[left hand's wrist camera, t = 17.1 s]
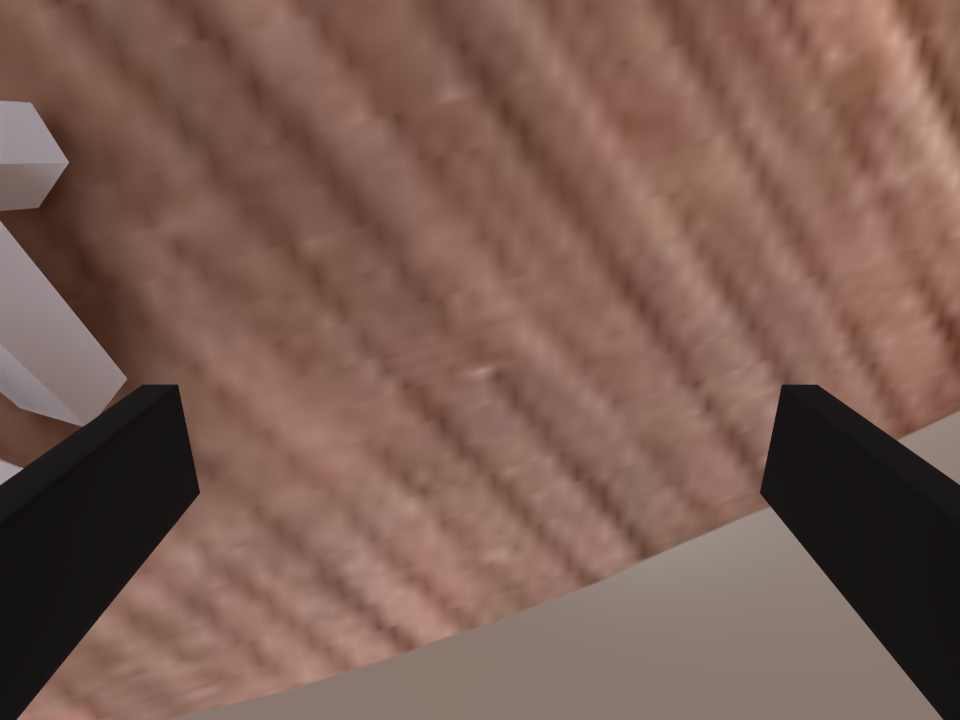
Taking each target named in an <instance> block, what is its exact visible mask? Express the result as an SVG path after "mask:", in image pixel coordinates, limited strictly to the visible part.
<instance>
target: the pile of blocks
mask: <svg viewBox="0 0 960 720" xmlns="http://www.w3.org/2000/svg"><path fill="white" fill-rule="evenodd" d="M68 163H69V162H68V160H67V159H66V157H65V155H64V154H63V152H62V151H61V149H60V147H59V146H58V144H57V143H56V141H55V140H54V138H53V136H52V135H51V133H50V132H49V130H48V129H47V127H46V125H45V124H44V122H43V121H42V119H41V118H40V116H39V114H38V113H37V111H36V110H35V108H34V107H33V105H32V103H28V102H13V101H0V211H6V210H18V209H30V208H39V206H40V205H41V203H42V202H43V200H44V199H45V197H46V196H47V194H48V193H49V192H50V190H51V189H52V187H53V186H54V184H55V183H56V181H57V180H58V178H59V177H60V175H61V174H62V172H63V171H64V169H65V168H66V166H67V165H68ZM126 380H127V378H126V376H125V375H124V374H123V373H122V371H121V370H120V369H119V368H118V366H117V365H116V364H115V363H114V362H113V360H112V359H111V358H110V357H109V355H108V354H107V353H106V352H105V350H104V349H103V348H102V347H101V345H100V344H99V343H98V342H97V340H96V339H95V338H94V337H93V335H92V334H91V333H90V332H89V330H88V329H87V328H86V327H85V326H84V324H83V323H82V322H81V321H80V319H79V318H78V317H77V316H76V314H75V313H74V312H73V311H72V309H71V308H70V307H69V306H68V304H67V303H66V302H65V301H64V299H63V298H62V297H61V296H60V294H59V293H58V292H57V291H56V290H55V288H54V287H53V286H52V285H51V283H50V282H49V281H48V280H47V278H46V277H45V276H44V275H43V273H42V272H41V271H40V270H39V268H38V267H37V266H36V265H35V263H34V262H33V261H32V260H31V258H30V257H29V256H28V255H27V254H26V252H25V251H24V250H23V249H22V247H21V246H20V245H19V244H18V242H17V241H16V240H15V239H14V237H13V236H12V235H11V234H10V232H9V231H8V230H7V229H6V227H5V226H4V225H3V224H2V222H1V221H0V392H1V393H2V394H3V395H5V396H6V397H7V398H8V399H9V400H10V401H12V402H13V403H14V404H15V405H16V406H18V407H19V408H21V409H24V410H28V411H31V412H34V413H38V414H41V415H45V416H48V417H51V418H55V419H58V420H62V421H65V422H68V423H72V424H75V425H78V426H82V427H83V426H85V425H86V424H88V423H89V422H91V421H92V420H93V419H95V418H96V417H98V416H99V415H100V414H101V413H102V411H103V410H104V409H105V407H106V406H107V405H108V403H109V402H110V401H111V400H112V398H113V397H114V396H115V394H116V393H117V392H118V390H119V389H120V388H121V387H122V385H123V384H124V383H125V381H126ZM22 469H24V468H22V467H20V466H17V465H14V464H12V463H9V462H6V461H3V460H1V459H0V485H1V484H2V483H4V482H5V481H7V480H8V479H10V478H11V477H12V476H14V475H15V474H17V473H18V472H19V471H21V470H22Z"/></svg>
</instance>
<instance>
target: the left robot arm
mask: <svg viewBox="0 0 960 720" xmlns="http://www.w3.org/2000/svg"><path fill="white" fill-rule="evenodd" d="M199 494H200V491H199V486H198V481H197V476H196V471H195V466H194V461H193V456H192V451H191V446H190V442H189V437H188V432H187V427H186V422H185V417H184V412H183V407H182V402H181V397H180V392H179V388H178V385H142V386H140V387H139V388H137V389H136V390H135V391H133V392H132V393H130V394H129V395H127V396H126V397H125V398H123V399H122V400H120V401H119V402H118V403H116V404H115V405H113V406H112V407H110V408H109V409H108V410H106V411H105V412H103V413H102V414H100V415H99V416H98V417H96V418H95V419H93V420H92V421H91V422H89V423H88V424H86V425H85V426H83V427H82V428H81V429H79V430H78V431H76V432H75V433H73V434H72V435H71V436H69V437H68V438H66V439H65V440H64V441H62V442H61V443H59V444H58V445H56V446H55V447H54V448H52V449H51V450H49V451H48V452H46V453H45V454H44V455H42V456H41V457H39V458H38V459H37V460H35V461H34V462H32V463H31V464H29V465H28V466H27V467H25V468H24V469H22V470H21V471H19V472H18V473H17V474H15V475H14V476H12V477H11V478H10V479H8V480H7V481H5V482H4V483H2V484H1V485H0V720H17V718H18V717H19V716H20V715H21V714H22V712H23V711H24V710H25V709H26V707H27V706H28V705H29V704H30V702H31V701H32V700H33V699H34V697H35V696H36V695H37V694H38V693H39V691H40V690H41V689H42V688H43V686H44V685H45V684H46V683H47V681H48V680H49V679H50V678H51V676H52V675H53V674H54V673H55V672H56V670H57V669H58V668H59V667H60V665H61V664H62V663H63V662H64V660H65V659H66V658H67V657H68V655H69V654H70V653H71V652H72V651H73V649H74V648H75V647H76V646H77V644H78V643H79V642H80V641H81V639H82V638H83V637H84V636H85V634H86V633H87V632H88V631H89V630H90V628H91V627H92V626H93V625H94V623H95V622H96V621H97V620H98V618H99V617H100V616H101V615H102V613H103V612H104V611H105V610H106V609H107V607H108V606H109V605H110V604H111V602H112V601H113V600H114V599H115V597H116V596H117V595H118V594H119V592H120V591H121V590H122V589H123V588H124V586H125V585H126V584H127V583H128V581H129V580H130V579H131V578H132V576H133V575H134V574H135V573H136V571H137V570H138V569H139V568H140V567H141V565H142V564H143V563H144V562H145V560H146V559H147V558H148V557H149V555H150V554H151V553H152V552H153V551H154V549H155V548H156V547H157V546H158V544H159V543H160V542H161V541H162V539H163V538H164V537H165V536H166V534H167V533H168V532H169V531H170V530H171V528H172V527H173V526H174V525H175V523H176V522H177V521H178V520H179V518H180V517H181V516H182V515H183V513H184V512H185V511H186V510H187V509H188V507H189V506H190V505H191V504H192V502H193V501H194V500H195V499H196V497H197V496H198V495H199ZM760 494H761V495H762V496H763V497H764V499H765V500H766V501H767V502H768V504H769V505H770V506H771V507H772V509H773V510H774V511H775V512H776V513H777V515H778V516H779V517H780V518H781V520H782V521H783V522H784V523H785V525H786V526H787V527H788V528H789V530H790V531H791V532H792V533H793V534H794V536H795V537H796V538H797V539H798V541H799V542H800V543H801V544H802V546H803V547H804V548H805V549H806V550H807V552H808V553H809V554H810V555H811V557H812V558H813V559H814V560H815V562H816V563H817V564H818V565H819V566H820V568H821V569H822V570H823V571H824V573H825V574H826V575H827V576H828V578H829V579H830V580H831V581H832V583H833V584H834V585H835V586H836V588H837V589H838V590H839V591H840V592H841V594H842V595H843V596H844V597H845V599H846V600H847V601H848V602H849V604H850V605H851V606H852V607H853V609H854V610H855V611H856V612H857V613H858V615H859V616H860V617H861V618H862V620H863V621H864V622H865V623H866V625H867V626H868V627H869V628H870V630H871V631H872V632H873V633H874V634H875V636H876V637H877V638H878V639H879V641H880V642H881V643H882V644H883V646H884V647H885V648H886V649H887V650H888V652H889V653H890V654H891V655H892V657H893V658H894V659H895V660H896V662H897V663H898V664H899V665H900V667H901V668H902V669H903V670H904V671H905V673H906V674H907V675H908V676H909V678H910V679H911V680H912V681H913V683H914V684H915V685H916V686H917V688H918V689H919V690H920V691H921V692H922V694H923V695H924V696H925V697H926V699H927V700H928V701H929V702H930V704H931V705H932V706H933V707H934V709H935V710H936V711H937V712H938V714H939V715H940V716H941V717H942V718H943V720H960V485H959V484H958V483H956V482H955V481H953V480H952V479H950V478H949V477H948V476H946V475H945V474H943V473H942V472H940V471H939V470H938V469H936V468H935V467H933V466H932V465H930V464H929V463H928V462H926V461H925V460H923V459H922V458H921V457H919V456H918V455H916V454H915V453H913V452H912V451H911V450H909V449H908V448H906V447H905V446H904V445H902V444H901V443H899V442H898V441H896V440H895V439H894V438H892V437H891V436H889V435H888V434H887V433H885V432H884V431H882V430H881V429H879V428H878V427H877V426H875V425H874V424H872V423H871V422H869V421H868V420H867V419H865V418H864V417H862V416H861V415H860V414H858V413H857V412H855V411H854V410H852V409H851V408H850V407H848V406H847V405H845V404H844V403H842V402H841V401H840V400H838V399H837V398H835V397H834V396H833V395H831V394H830V393H828V392H827V391H825V390H824V389H823V388H821V387H820V386H818V385H782V388H781V392H780V397H779V402H778V407H777V412H776V417H775V422H774V427H773V432H772V437H771V442H770V446H769V451H768V456H767V461H766V466H765V471H764V476H763V481H762V486H761V491H760Z"/></svg>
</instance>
